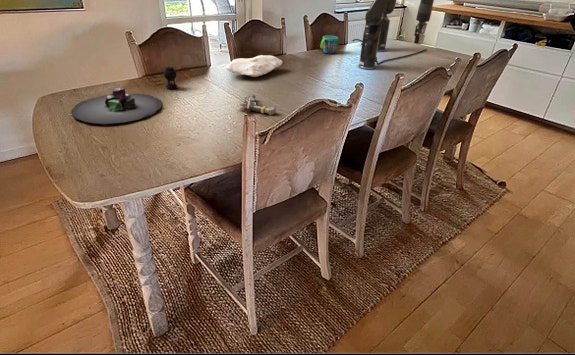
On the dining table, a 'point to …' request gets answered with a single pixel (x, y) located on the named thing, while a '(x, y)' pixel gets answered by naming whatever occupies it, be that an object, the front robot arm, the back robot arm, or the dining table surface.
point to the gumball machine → (170, 77)
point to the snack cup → (329, 44)
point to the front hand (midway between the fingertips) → (417, 42)
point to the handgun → (255, 106)
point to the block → (419, 39)
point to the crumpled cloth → (254, 65)
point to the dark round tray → (116, 108)
